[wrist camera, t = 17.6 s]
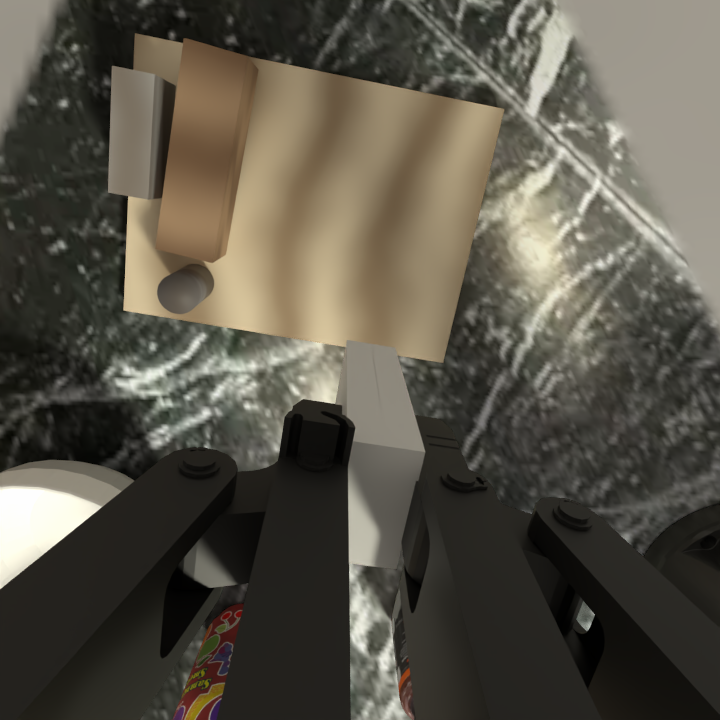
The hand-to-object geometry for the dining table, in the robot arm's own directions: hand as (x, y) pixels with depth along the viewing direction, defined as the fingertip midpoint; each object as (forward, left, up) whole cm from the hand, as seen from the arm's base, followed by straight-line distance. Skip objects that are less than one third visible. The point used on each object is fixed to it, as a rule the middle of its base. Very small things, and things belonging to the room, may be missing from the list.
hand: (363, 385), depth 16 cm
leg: (+10, -5, -23) cm, 26 cm away
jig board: (+4, -3, -24) cm, 25 cm away
